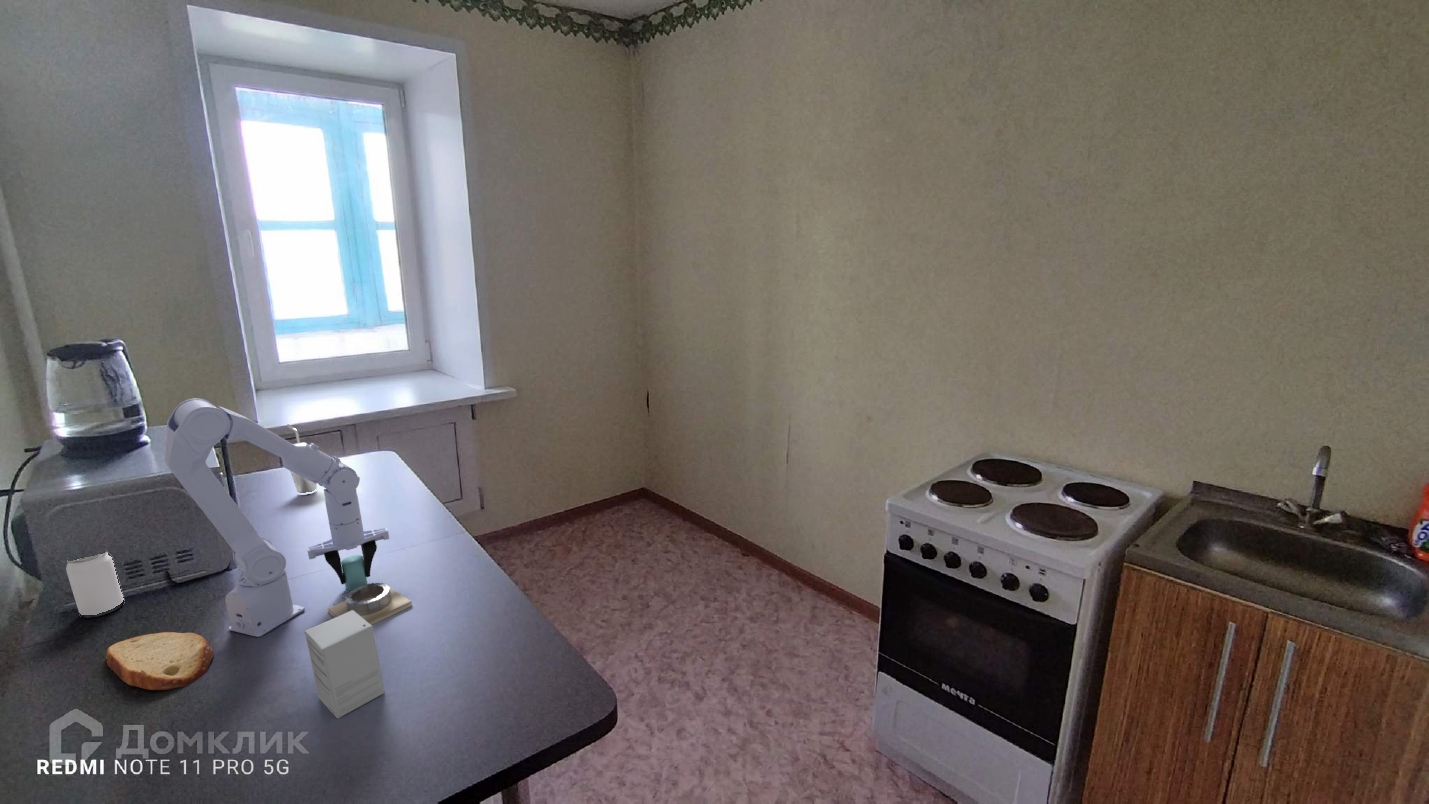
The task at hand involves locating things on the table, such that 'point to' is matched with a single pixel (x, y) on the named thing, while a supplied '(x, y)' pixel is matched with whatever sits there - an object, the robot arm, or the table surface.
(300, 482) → the cup with straw
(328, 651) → the supplement box
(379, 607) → the socket collar
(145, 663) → the slice of bread
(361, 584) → the teal cylinder
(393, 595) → the dock plate
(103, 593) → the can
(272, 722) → the table surface
